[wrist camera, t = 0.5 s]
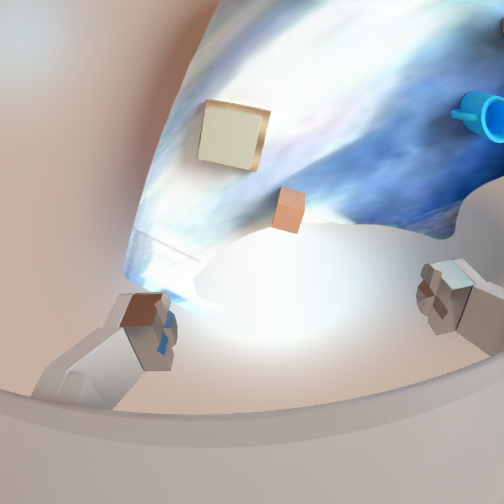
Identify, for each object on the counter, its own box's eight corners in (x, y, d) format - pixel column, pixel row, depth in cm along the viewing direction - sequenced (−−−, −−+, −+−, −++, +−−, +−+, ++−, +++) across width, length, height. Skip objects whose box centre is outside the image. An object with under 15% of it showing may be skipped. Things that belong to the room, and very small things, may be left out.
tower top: (210, 106, 47) (205, 108, 44) (262, 116, 47) (260, 118, 44) (203, 154, 52) (197, 158, 49) (252, 165, 52) (249, 170, 49)
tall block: (281, 186, 55) (277, 203, 49) (304, 193, 55) (304, 210, 49) (275, 207, 58) (271, 227, 51) (298, 213, 58) (297, 234, 51)
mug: (490, 92, 36) (513, 97, 30) (493, 132, 40) (515, 143, 34) (440, 90, 40) (460, 93, 33) (444, 133, 44) (464, 143, 37)
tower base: (211, 98, 49) (206, 100, 46) (271, 110, 49) (269, 112, 46) (202, 154, 55) (196, 158, 53) (258, 167, 55) (256, 172, 52)
